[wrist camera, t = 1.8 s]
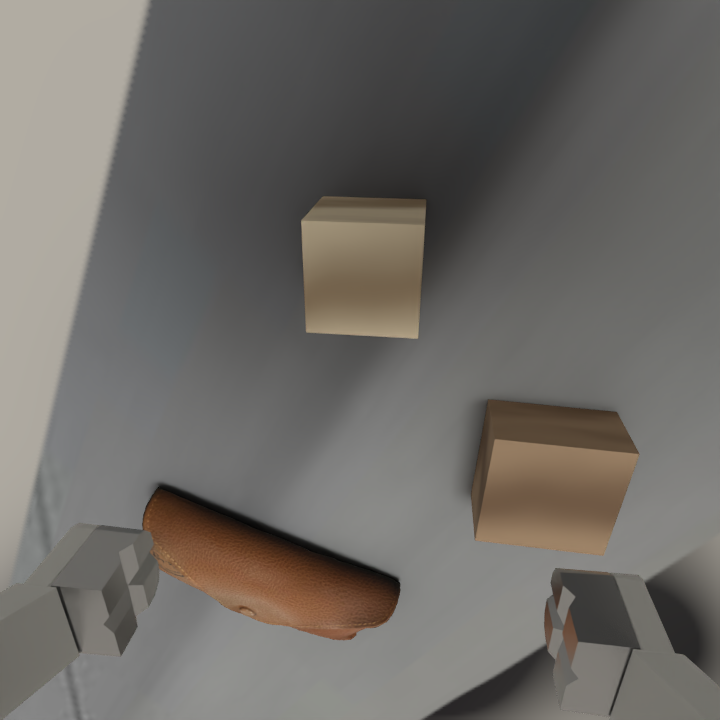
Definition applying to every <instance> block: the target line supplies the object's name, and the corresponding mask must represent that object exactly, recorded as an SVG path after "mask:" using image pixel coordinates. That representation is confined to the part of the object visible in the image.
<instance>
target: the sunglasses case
mask: <svg viewBox="0 0 720 720" xmlns="http://www.w3.org/2000/svg"><path fill="white" fill-rule="evenodd" d="M142 526H143V530H146V531H148V532H151V535H152V539H153V543H154V545H153V547H152V548H151V550H150V553H151V554H152V555H153V556H154V557H155V558H156V559H157V560H158V565H159V569H160V570H162V571H164V572H166V573H167V574H169V575H171V576H173V577H175V578H177V579H178V580H181V581H183V582H185V583H186V584H189V585H190V586H193V587H195V588H197V589H199V590H201V591H204V592H205V593H206V594H208V595H210V596H211V597H212V598H214V599H215V600H217V601H219V603H220V604H221V605H223V606H224V607H226V608H228V609H230V610H233V611H235V612H238V613H241V614H243V615H246V616H249V617H251V618H253V619H255V620H258V621H260V622H264V623H267V624H272V625H283V626H290V627H292V628H296V629H298V630H300V631H305V632H308V633H311V634H315V635H318V636H322V637H326V638H330V639H333V640H335V639H336V640H351V639H352V638H354V637H355V636H356V632H358V631H360V630H362V629H365V628H376V627H378V626H380V625H382V624H384V623H385V622H387V621H388V620H389V618H390V617H391V616H392V614H393V612H394V610H395V608H396V605H397V602H398V598H399V595H400V583H399V582H398V583H397V582H396V581H395V580H394V579H391V578H389V577H387V576H384V575H380V574H377V573H375V572H373V571H370V570H366V569H363V568H360V567H356V566H354V565H351V564H349V563H345V562H340V561H338V560H336V559H334V558H331V557H328V556H325V555H321V554H318V553H314V552H311V551H309V550H307V549H305V548H303V547H301V546H298V545H296V544H293V543H291V542H289V541H286V540H284V539H282V538H279V537H277V536H274V535H271V534H269V533H266V532H263V531H260V530H258V529H255V528H252V527H250V526H248V525H246V524H244V523H242V522H240V521H237V520H235V519H233V518H230V517H227V516H225V515H222V514H220V513H217V512H215V511H212V510H210V509H207V508H205V507H203V506H201V505H198V504H196V503H194V502H191V501H189V500H187V499H184V498H181V497H179V496H177V495H175V494H173V493H171V492H169V491H165V490H162V489H161V488H159V487H158V488H157V489H156V490H155V492H154V494H153V495H152V497H151V498H150V500H149V502H148V504H147V506H146V508H145V512H144V515H143V523H142Z"/></svg>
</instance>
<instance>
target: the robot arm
mask: <svg viewBox="0 0 720 720" xmlns="http://www.w3.org/2000/svg"><path fill="white" fill-rule="evenodd" d="M153 545H154V543H153V539H152V535H151V532H148V531H146V530H138V529H130V528H121V527H113V526H105V525H93V524H84V523H78V524H76V525H75V526H73V527H71V528H70V530H69V531H68V532H67V533H66V534H65V535H64V537H63V538H62V539H61V540H60V541H59V543H58V544H57V545H56V546H55V547H54V549H53V550H52V551H51V552H50V553H49V554H48V556H47V557H46V558H45V559H44V560H43V562H42V563H41V564H40V565H39V566H38V568H37V569H36V570H35V571H34V572H33V574H32V575H31V576H30V577H29V578H28V579H27V581H26V582H25V583H24V584H20V583H16V584H15V585H13V586H11V587H9V588H7V589H6V590H4V591H2V592H0V720H2V719H3V718H5V717H6V716H7V715H8V714H9V713H11V712H12V711H13V710H14V709H16V708H17V707H18V706H19V705H20V704H22V703H23V702H24V701H25V700H26V699H28V698H29V697H30V696H31V695H33V694H34V693H35V692H36V691H37V690H39V689H40V688H41V687H42V686H43V685H45V684H46V683H47V682H48V681H50V680H51V679H52V678H53V677H54V676H56V675H57V674H58V673H59V672H60V671H62V670H63V669H64V668H65V667H67V666H68V665H69V664H70V663H71V662H73V661H74V660H75V659H76V658H77V657H79V653H83V654H94V655H106V656H117V657H121V656H122V654H123V652H124V651H125V649H126V647H127V645H128V643H129V642H130V640H131V638H132V636H133V634H134V633H135V631H136V629H137V627H138V625H137V620H136V616H137V615H138V614H140V613H141V612H143V611H144V610H146V609H147V608H148V607H149V606H150V604H151V602H152V600H153V598H154V596H155V593H156V590H157V586H158V582H159V565H158V560H157V559H156V558H155V557H154V556H153V555H152V554H151V553H150V550H151V548H152V547H153ZM551 587H552V591H553V595H552V596H550V597H549V598H548V599H547V602H546V607H545V621H544V628H545V637H546V643H547V648H548V652H549V653H550V654H551V655H552V656H553V657H554V658H555V660H556V662H555V666H554V671H553V677H554V683H555V688H556V692H557V697H558V702H559V706H560V710H565V711H572V712H578V713H586V714H592V715H599V716H606V717H610V720H720V687H719V686H718V685H717V684H716V683H715V682H714V681H713V680H712V679H710V678H709V677H708V676H707V675H706V674H705V673H704V672H703V671H701V670H700V669H699V668H698V667H697V666H696V665H695V664H694V663H692V662H691V661H690V660H689V659H688V658H687V657H686V656H685V655H681V654H675V652H674V650H673V648H672V646H671V643H670V641H669V639H668V636H667V634H666V632H665V629H664V627H663V625H662V623H661V620H660V618H659V616H658V613H657V611H656V609H655V606H654V604H653V602H652V600H651V597H650V595H649V593H648V590H647V588H646V586H645V583H644V581H643V579H642V578H641V577H640V576H639V575H632V574H620V573H608V572H597V571H585V570H573V569H560V568H555V570H554V572H553V574H552V578H551Z"/></svg>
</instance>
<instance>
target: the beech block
mask: <svg viewBox="0 0 720 720" xmlns="http://www.w3.org/2000/svg"><path fill="white" fill-rule="evenodd" d="M425 216H426V199H396V198H363V197H330V196H323V197H322V198H321V199H320V200H319V201H318V202H317V203H316V205H315V206H314V207H313V208H312V209H311V210H310V211H309V212H308V214H307V215H306V216H305V217H304V218H303V219H302V220H301V228H302V251H303V273H304V295H305V318H306V332H308V333H326V334H343V335H361V336H379V337H397V338H414V339H418V330H419V314H420V298H421V281H422V265H423V249H424V232H425Z"/></svg>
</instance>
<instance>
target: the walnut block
mask: <svg viewBox="0 0 720 720" xmlns="http://www.w3.org/2000/svg"><path fill="white" fill-rule="evenodd" d="M638 457H639V452H638V450H637V449H636V447H635V445H634V443H633V441H632V439H631V437H630V436H629V434H628V432H627V430H626V428H625V426H624V424H623V422H622V421H621V419H620V417H619V415H618V413H617V412H611V411H601V410H590V409H580V408H570V407H560V406H550V405H539V404H529V403H519V402H509V401H499V400H489V399H488V404H487V409H486V415H485V420H484V426H483V431H482V437H481V442H480V448H479V453H478V459H477V464H476V470H475V475H474V481H473V486H472V492H471V500H472V512H473V523H474V534H475V540H476V541H484V542H493V543H501V544H510V545H518V546H526V547H535V548H543V549H551V550H560V551H568V552H576V553H585V554H593V555H602V556H603V555H604V553H605V550H606V547H607V544H608V541H609V539H610V536H611V533H612V530H613V527H614V525H615V522H616V519H617V516H618V513H619V510H620V508H621V505H622V502H623V499H624V496H625V494H626V491H627V488H628V485H629V482H630V480H631V477H632V474H633V471H634V468H635V466H636V463H637V460H638Z"/></svg>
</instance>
